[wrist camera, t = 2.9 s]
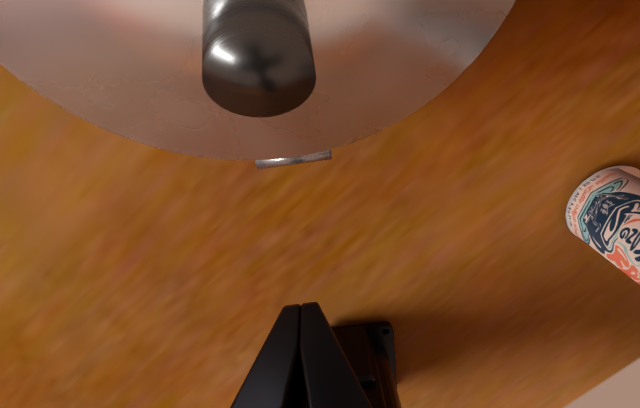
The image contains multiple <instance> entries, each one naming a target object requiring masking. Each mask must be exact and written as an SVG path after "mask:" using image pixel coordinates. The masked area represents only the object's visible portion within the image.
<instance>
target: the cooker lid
mask: <svg viewBox="0 0 640 408" xmlns="http://www.w3.org/2000/svg"><path fill="white" fill-rule="evenodd" d="M515 1H516V0H0V64H1V65H2V66H4V67H5V68H6V69H7V70H8V71H10V72H11V73H12V74H13V75H14V76H16V77H17V78H18V79H19V80H21V81H22V82H24V83H25V84H27V85H28V86H29V87H31V88H32V89H34V90H35V91H37V92H38V93H39V94H41V95H42V96H44V97H45V98H47V99H48V100H50V101H52V102H53V103H55V104H57V105H58V106H60V107H62V108H64V109H65V110H67V111H69V112H70V113H72V114H74V115H76V116H78V117H80V118H82V119H84V120H86V121H88V122H90V123H92V124H94V125H96V126H98V127H100V128H102V129H105V130H107V131H110V132H112V133H115V134H117V135H120V136H122V137H125V138H127V139H130V140H133V141H136V142H139V143H143V144H146V145H149V146H152V147H155V148H160V149H164V150H168V151H172V152H176V153H181V154H186V155H192V156H198V157H205V158H215V159H225V160H255V161H256V166H257V168H258V169H265V168H272V167H279V166H286V165H293V164H300V163H308V162H315V161H322V160H329V159H332V158H331V149H334V148H337V147H340V146H343V145H347V144H350V143H353V142H356V141H358V140H361V139H363V138H365V137H368V136H370V135H373V134H375V133H377V132H379V131H381V130H383V129H385V128H387V127H389V126H391V125H393V124H395V123H397V122H399V121H400V120H402V119H404V118H405V117H407V116H408V115H410V114H412V113H413V112H415V111H417V110H418V109H419V108H421V107H422V106H424V105H425V104H426V103H428V102H429V101H430V100H432V99H433V98H435V97H436V96H437V95H438V94H440V93H441V92H442V91H443V90H444V89H445V88H446V87H448V86H449V85H450V84H451V83H452V82H453V81H454V80H456V79H457V78H458V77H459V76H460V75H461V74H462V73H463V71H464V70H465V69H466V68H467V67H468V66H469V65H470V64H471V63H472V62H473V61H474V60H475V59H476V58H477V56H478V55H479V54H480V53H481V51H482V50H483V49H484V48H485V46H486V45H487V44H488V43H489V41H490V40H491V39H492V38H493V36H494V35H495V33H496V32H497V30H498V29H499V27H500V26H501V24H502V23H503V21H504V19H505V18H506V16H507V15H508V13H509V12H510V10H511V9H512V7H513V5H514V3H515Z"/></svg>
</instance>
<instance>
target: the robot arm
mask: <svg viewBox="0 0 640 408" xmlns="http://www.w3.org/2000/svg"><path fill="white" fill-rule="evenodd" d="M383 329H387V330H383ZM230 408H402V407H401V403H400V400H399V396H398V392H397V382H396V367H395V351H394V336H393V328H392V325H391V324H390V323H389V322H377V323H370V324H362V325H354V326H347V327H339V328H332V329H331V327H330V325H329V323H328V321H327V319H326V317H325V315H324V313H323V312H322V310H321V308H320V306H319V304H318V303H317V302H310V303H303V304H302V305H299V304H294V305H287V306H284V307H283V309H282V310H281V312H280V314H279V316H278V318H277V320H276V322H275V324H274V326H273V328H272V329H271V331H270V333H269V335H268V337H267V339H266V341H265V343H264V345H263V346H262V348H261V350H260V352H259V354H258V356H257V358H256V360H255V362H254V363H253V365H252V367H251V369H250V371H249V373H248V375H247V377H246V379H245V381H244V382H243V384H242V386H241V388H240V390H239V392H238V394H237V396H236V398H235V399H234V401H233V403H232V405H231V407H230Z"/></svg>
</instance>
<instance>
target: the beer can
mask: <svg viewBox="0 0 640 408" xmlns="http://www.w3.org/2000/svg"><path fill="white" fill-rule="evenodd" d="M566 221H567V225H568V227H569V229H570V231H571V232H572V233H573V234H574V235H575V236H577V237H579V238H581V239H582V240H583V241H584V242H586V243H587V244H588V245H590V246H591V247H592V248H593V249H595V250H596V251H597V252H599V253H600V254H601V255H602V256H604V257H605V258H606V259H607V260H609V261H610V262H611V263H613V264H614V265H615V266H616V267H618V268H619V269H620V270H621V271H623V272H624V273H625V274H627V275H628V276H629V277H630V278H632V279H633V280H634V281H635V282H637V283H638V284H639V285H640V170H639V169H637V168H634V167H630V166H614V167H609V168H606V169H603V170H601V171H598V172H596V173H595V174H593V175H592V176H590V177H589V178H587V179H586V180H585V181H583V182H582V183H581V184H580V185H579V186H578V187H577V188H576V190H575V191H574V193H573V194H572V195H571V197H570V199H569V202H568V205H567V208H566Z"/></svg>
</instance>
